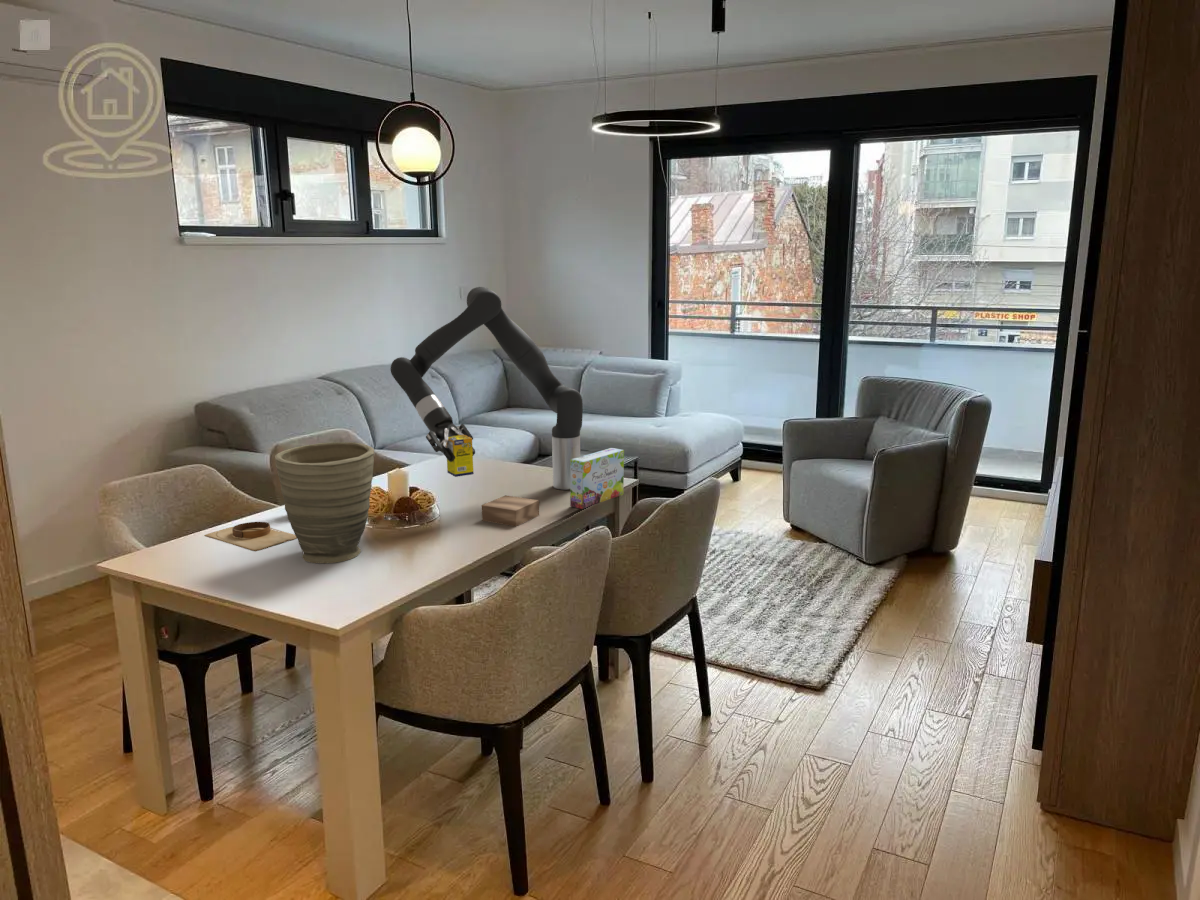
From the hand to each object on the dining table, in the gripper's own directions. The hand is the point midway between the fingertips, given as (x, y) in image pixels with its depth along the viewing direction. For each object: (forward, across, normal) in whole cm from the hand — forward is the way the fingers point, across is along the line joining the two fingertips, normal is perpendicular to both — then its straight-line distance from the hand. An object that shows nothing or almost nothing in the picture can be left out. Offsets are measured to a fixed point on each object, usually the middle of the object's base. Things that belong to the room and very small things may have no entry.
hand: (463, 457), depth 255 cm
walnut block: (+21, +7, +5) cm, 23 cm away
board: (-12, -47, +39) cm, 62 cm away
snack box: (+28, +37, -2) cm, 46 cm away
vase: (+9, -43, +17) cm, 47 cm away
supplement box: (+3, 0, +5) cm, 6 cm away
